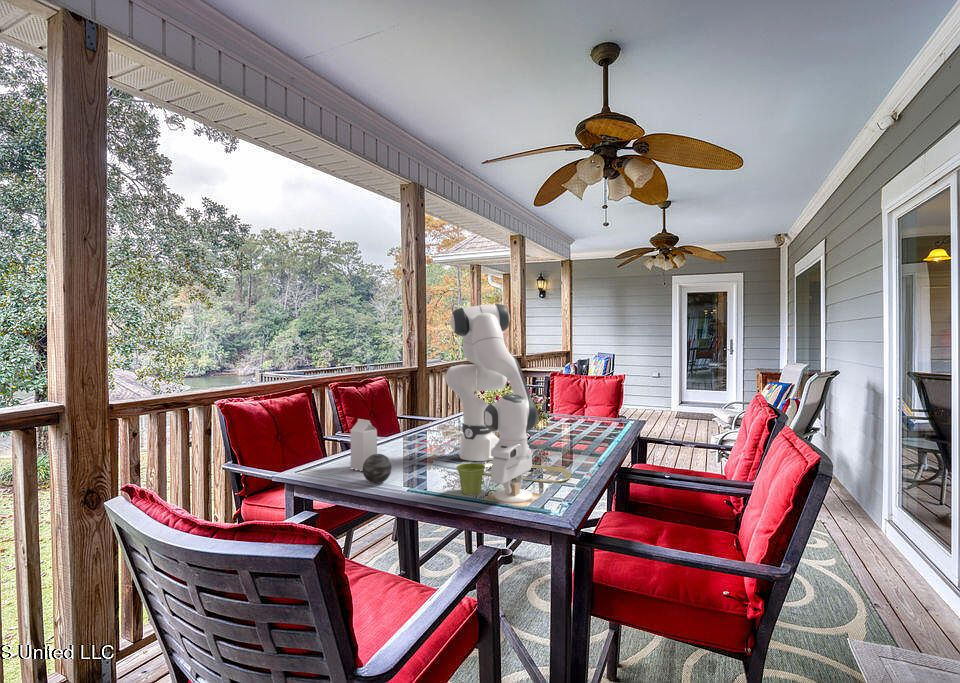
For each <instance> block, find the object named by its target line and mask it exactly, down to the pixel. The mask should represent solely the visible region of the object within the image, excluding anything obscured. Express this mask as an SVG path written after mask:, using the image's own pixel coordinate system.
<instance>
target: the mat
mask: <svg viewBox="0 0 960 683" xmlns="http://www.w3.org/2000/svg"><path fill="white" fill-rule="evenodd" d="M501 489H505V488H504V487H502V488H501ZM530 492H531V493H532V499H531V500H529V501H527V502H522V503H506V502H502V501H499V500H497V499H495V497H494V493H495V492H493V493H491V494H489V495H487V496H485V497H483V498H482V500H485V501H489V502H494V503H497V504H498V503H499V504H504V505H508V506H513V507H517V508H522V509H524V507H526V506H528V505H529V504H531V503H532V502H533V501H534V502H535V500H537V499H538V498H540V497H541V496H543V495H544V494H543V493H538V492H533V491H530Z"/></svg>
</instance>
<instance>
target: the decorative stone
mask: <svg viewBox="0 0 960 683" xmlns="http://www.w3.org/2000/svg"><path fill="white" fill-rule="evenodd" d="M392 467H393V464H392V461H391V460H390V458H389V457H388V456H386V455H385V454H383V453H377V454H373V455H371V456H369V457H368V458H367V459H366V460H365V462H364V464H363V472H362V474H363V476H364V478H365V479H366V480H367V481H368V482H369V483H372V484H380V483H383V482H385V481H387V480H388V479H389V477H390V476H391V474H392V471H393V468H392Z"/></svg>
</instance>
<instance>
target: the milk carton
mask: <svg viewBox="0 0 960 683" xmlns="http://www.w3.org/2000/svg"><path fill="white" fill-rule="evenodd" d="M373 454H378V430H377V428H376V427H375V426H374V425H372V423H371V420H368V419H363V418H362V419H361V418H357V421H356V423H355V424H354V425H353V426H352V428H351V429H350V469H351V468H353V469H357V470H361V471H363V464H364V462H365V460H366V459H367V458H368V457H369V456H371V455H373ZM353 469H352V470H353ZM357 470H356V471H357ZM361 471H360V472H361Z"/></svg>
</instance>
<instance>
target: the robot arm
mask: <svg viewBox="0 0 960 683" xmlns="http://www.w3.org/2000/svg"><path fill="white" fill-rule="evenodd" d="M510 320H511V315H510V313H509V310H508V308H507V307H506V305H504V304H501V303H500V304H498V303H496V304H479V305H472V306H468V307H459V308H456V309H454V310H453V311H452V313H451V317H450V326H451V329H452V330H453V333H454V334H455V335H457V336H458V337H459V336H461V337H462V355H463V357H464V358H465V359H466V360H467V361H468V362H470V363H472V364H459V365H458V364H456V365H452V366H450V367H448V369H447V371H446V373H445V383H446V385H447V386H448V388H449V389H451V390H452V391H453V392H454V393H455V394H456V395H457V397H458V398H459V400H460V403H461V407H462V415H463V416H462V417H463V423H462V424H461V425H462V426H461V431H462V434H461V435H460V441H459V442H460V443H459V451H458V452H457V455H458V456H459V458H460V459H461V460H464V461H469V462H471V461H473V462H481V461H482V462H483V461H484V462H485V461H491V463H492V466H491V467H490V468H491V475H492V476H491V479H492V480H491V481H492V482H493V483H494V484H499V485H503V488H505V494H510V493H512V488H511V487H510V483H511V481H513V480H515V482H520V489H522V483H523V481H524V480H523V478H524V474H526V473H527V472H529V471H531V470H532V469H531V468H532V465H533V457H532V450H531V448H530V445H529V443H528V435H527V432H530V431H532V430H533V429H534V428H535V427H536V425H537V424H538V421H539V411H538V408H537V406H536V404H535V402H534V401H533V399H532V396H531V393H530V390H529V388H528V384H527V382H526V380H525V377H524V373H523V371H522V368H521V366H520V363H519V361H518V359H517V358H516V357H515V356H513V355H512V354H511V352H510V351H509V350H508V348H507V345H506V344H505V338H504V333H503V332H504V331H507V329H508V328H509V326H510ZM507 382H509V383H510V387H511V389H512V392H513V394H512V393H508V394H504V395H502V396H500V399H499V400H498V401H496V402H492V403H488V402H487V401H485V400H484V399H482V398H480V397H478V396H476V394H475V392H476V391H478V392H479V391H481V392H486V391H488V392H489V391H490V392H492V391H498V390H501V389H504V387H505V386H506V384H507ZM494 432H495V433H499V436H497V435H496V434H495V433H494ZM514 478H516V479H514Z"/></svg>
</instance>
